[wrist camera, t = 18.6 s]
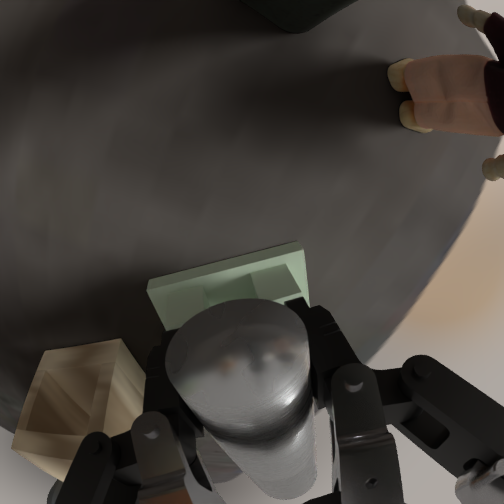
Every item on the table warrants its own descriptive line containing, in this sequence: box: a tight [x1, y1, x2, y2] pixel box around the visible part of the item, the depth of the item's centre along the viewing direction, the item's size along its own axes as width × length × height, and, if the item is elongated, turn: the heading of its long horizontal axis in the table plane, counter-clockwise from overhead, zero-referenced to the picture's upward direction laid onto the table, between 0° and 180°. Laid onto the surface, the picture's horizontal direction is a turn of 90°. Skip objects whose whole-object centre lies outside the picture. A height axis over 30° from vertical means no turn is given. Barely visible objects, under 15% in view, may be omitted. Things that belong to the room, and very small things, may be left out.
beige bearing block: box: [11, 338, 146, 482], centre depth 14 cm, size 7×12×8 cm, turn 11°
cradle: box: [146, 241, 310, 331], centre depth 16 cm, size 8×13×4 cm, turn 11°
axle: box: [165, 298, 317, 500], centre depth 11 cm, size 14×4×4 cm, turn 11°
